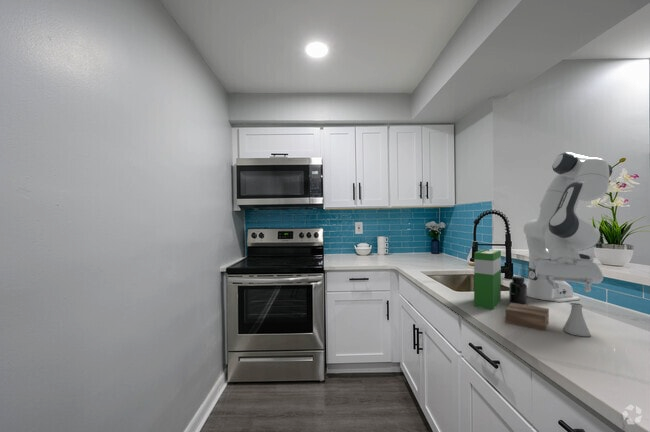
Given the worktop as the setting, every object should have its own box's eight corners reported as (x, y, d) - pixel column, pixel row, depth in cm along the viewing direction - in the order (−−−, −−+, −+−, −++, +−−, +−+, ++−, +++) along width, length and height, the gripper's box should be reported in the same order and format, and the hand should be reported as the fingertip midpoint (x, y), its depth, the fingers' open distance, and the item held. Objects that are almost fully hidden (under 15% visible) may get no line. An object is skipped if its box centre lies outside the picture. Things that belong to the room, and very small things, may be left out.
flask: (596, 338, 96) (596, 307, 96) (571, 336, 98) (571, 306, 98) (581, 329, 103) (581, 301, 103) (558, 328, 105) (558, 300, 105)
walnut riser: (511, 314, 119) (511, 302, 119) (548, 321, 111) (548, 308, 111) (505, 322, 110) (505, 309, 110) (545, 330, 102) (545, 316, 102)
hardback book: (483, 298, 143) (483, 249, 144) (500, 300, 139) (500, 250, 139) (474, 306, 130) (474, 252, 130) (492, 309, 125) (493, 254, 125)
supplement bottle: (507, 302, 136) (507, 276, 136) (510, 299, 141) (510, 274, 141) (525, 305, 131) (525, 279, 131) (527, 302, 136) (528, 276, 136)
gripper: (533, 253, 119) (539, 282, 110) (598, 256, 111) (610, 287, 102) (530, 262, 123) (536, 291, 115) (593, 266, 115) (604, 297, 106)
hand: (571, 289), depth 108 cm, fingers open, 8 cm apart
